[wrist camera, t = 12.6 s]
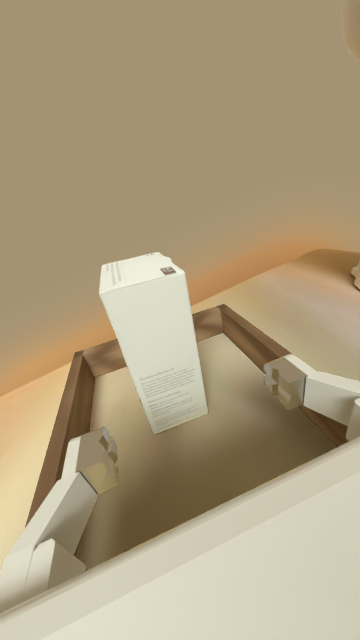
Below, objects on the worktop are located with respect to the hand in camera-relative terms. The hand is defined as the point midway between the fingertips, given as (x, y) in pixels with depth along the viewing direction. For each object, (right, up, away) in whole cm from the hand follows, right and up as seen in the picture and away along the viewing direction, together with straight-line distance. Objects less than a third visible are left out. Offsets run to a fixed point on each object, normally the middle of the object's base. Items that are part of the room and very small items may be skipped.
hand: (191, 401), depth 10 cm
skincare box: (-1, -5, +13) cm, 14 cm away
